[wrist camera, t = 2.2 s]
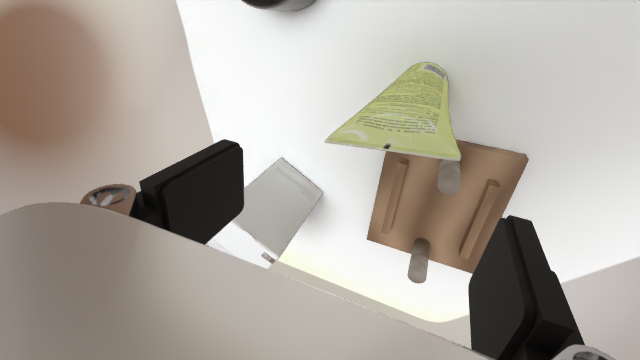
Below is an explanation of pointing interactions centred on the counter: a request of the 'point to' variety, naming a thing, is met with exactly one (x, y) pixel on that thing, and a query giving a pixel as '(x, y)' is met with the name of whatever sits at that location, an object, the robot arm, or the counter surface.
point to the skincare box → (268, 215)
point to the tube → (406, 117)
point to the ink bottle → (279, 4)
